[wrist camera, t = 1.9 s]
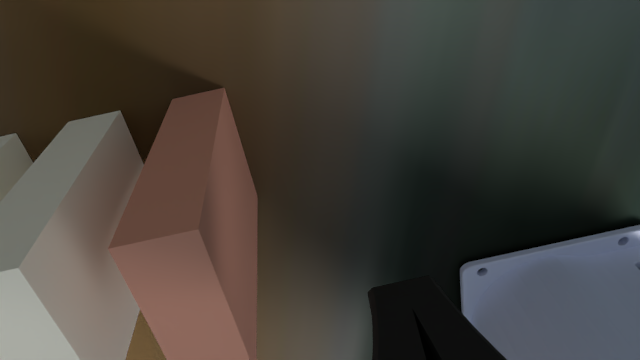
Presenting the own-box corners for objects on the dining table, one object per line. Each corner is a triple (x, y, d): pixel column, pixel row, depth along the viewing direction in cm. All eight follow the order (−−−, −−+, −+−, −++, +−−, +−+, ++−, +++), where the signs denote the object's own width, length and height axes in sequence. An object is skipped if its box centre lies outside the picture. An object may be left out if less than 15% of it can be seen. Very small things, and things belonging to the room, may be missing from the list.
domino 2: (224, 87, 18) (198, 229, 10) (257, 197, 21) (256, 375, 13) (172, 98, 18) (107, 249, 10) (212, 206, 21) (183, 390, 13)
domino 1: (120, 110, 18) (18, 267, 10) (166, 216, 21) (111, 406, 13) (68, 121, 18) (-72, 287, 10) (120, 226, 21) (39, 422, 13)
